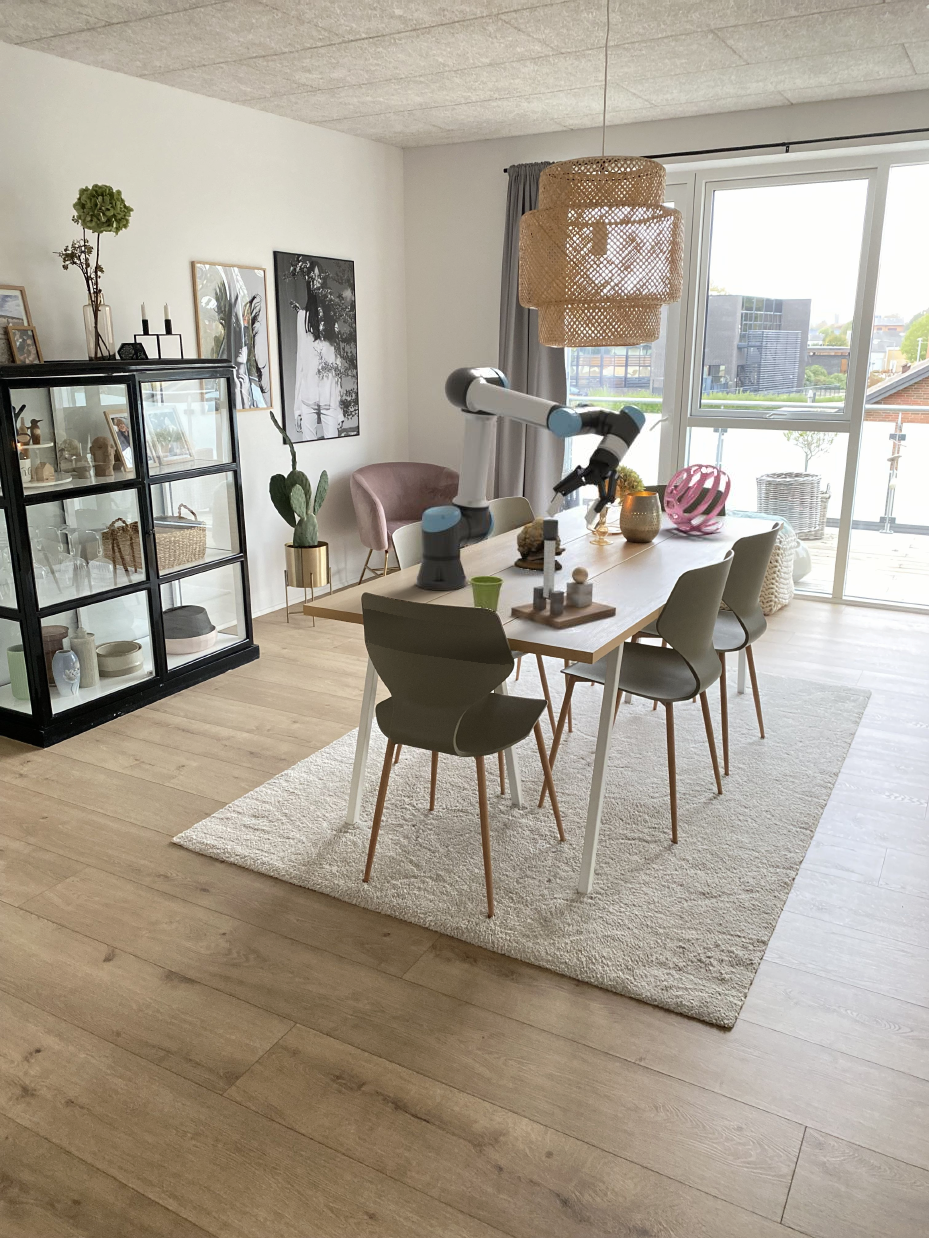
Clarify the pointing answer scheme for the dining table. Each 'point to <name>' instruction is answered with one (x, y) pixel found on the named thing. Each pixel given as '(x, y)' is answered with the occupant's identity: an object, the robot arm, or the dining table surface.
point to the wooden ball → (579, 574)
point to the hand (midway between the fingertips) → (567, 518)
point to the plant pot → (486, 591)
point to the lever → (549, 555)
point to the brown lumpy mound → (534, 547)
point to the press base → (564, 607)
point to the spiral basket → (691, 495)
